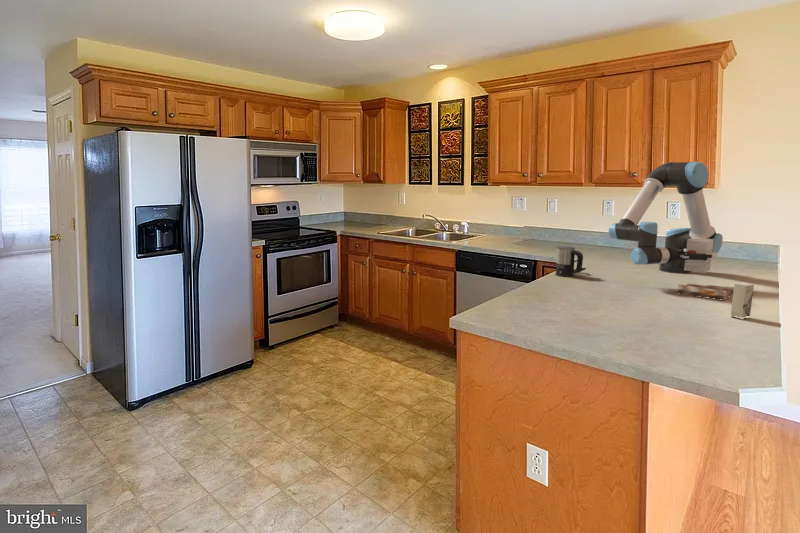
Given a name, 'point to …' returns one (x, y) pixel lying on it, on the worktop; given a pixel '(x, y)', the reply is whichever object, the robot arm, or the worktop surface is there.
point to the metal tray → (705, 291)
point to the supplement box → (699, 247)
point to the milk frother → (568, 261)
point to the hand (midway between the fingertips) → (705, 253)
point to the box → (742, 299)
